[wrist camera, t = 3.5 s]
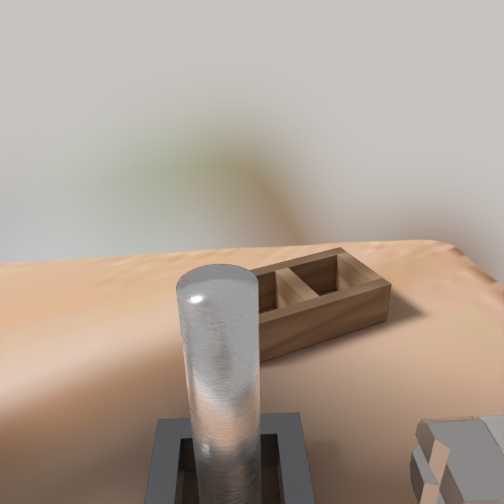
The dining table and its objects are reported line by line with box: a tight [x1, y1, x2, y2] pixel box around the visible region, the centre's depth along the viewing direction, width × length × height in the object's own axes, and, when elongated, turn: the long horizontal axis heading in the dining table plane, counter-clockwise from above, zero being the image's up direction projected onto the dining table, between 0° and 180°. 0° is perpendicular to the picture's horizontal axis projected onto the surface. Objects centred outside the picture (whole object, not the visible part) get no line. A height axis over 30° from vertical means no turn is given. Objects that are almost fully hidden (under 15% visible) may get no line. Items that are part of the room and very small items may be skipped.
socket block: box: [145, 413, 315, 504], centre depth 28 cm, size 9×9×3 cm
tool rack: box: [249, 247, 391, 363], centre depth 45 cm, size 8×15×4 cm, turn 115°
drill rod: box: [176, 264, 261, 504], centre depth 25 cm, size 4×4×16 cm
